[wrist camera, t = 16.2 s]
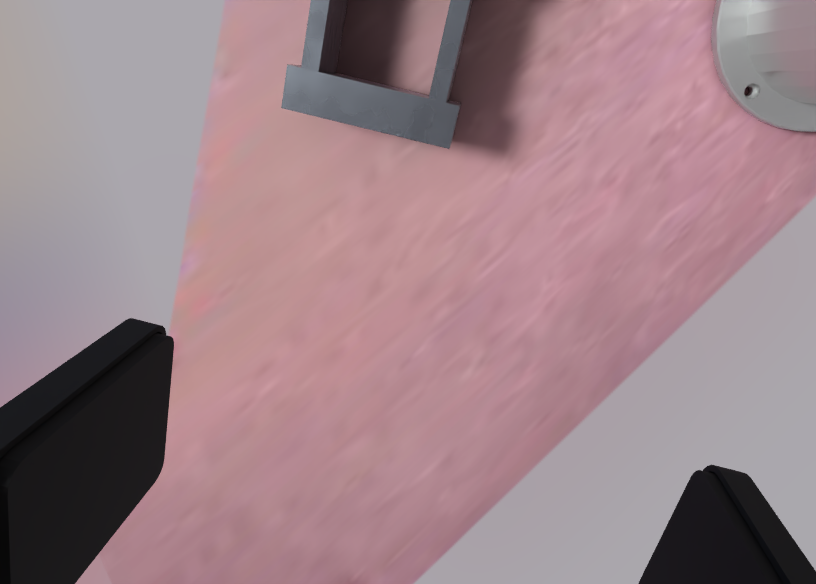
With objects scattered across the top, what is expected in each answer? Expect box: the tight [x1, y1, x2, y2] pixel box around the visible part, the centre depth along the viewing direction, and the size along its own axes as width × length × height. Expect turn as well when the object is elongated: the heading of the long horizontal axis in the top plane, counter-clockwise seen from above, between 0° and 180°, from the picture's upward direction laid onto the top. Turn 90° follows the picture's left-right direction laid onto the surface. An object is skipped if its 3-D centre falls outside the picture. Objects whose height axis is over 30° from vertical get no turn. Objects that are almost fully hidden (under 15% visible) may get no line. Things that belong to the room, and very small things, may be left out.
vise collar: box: [281, 0, 473, 149], centre depth 34 cm, size 10×11×4 cm
